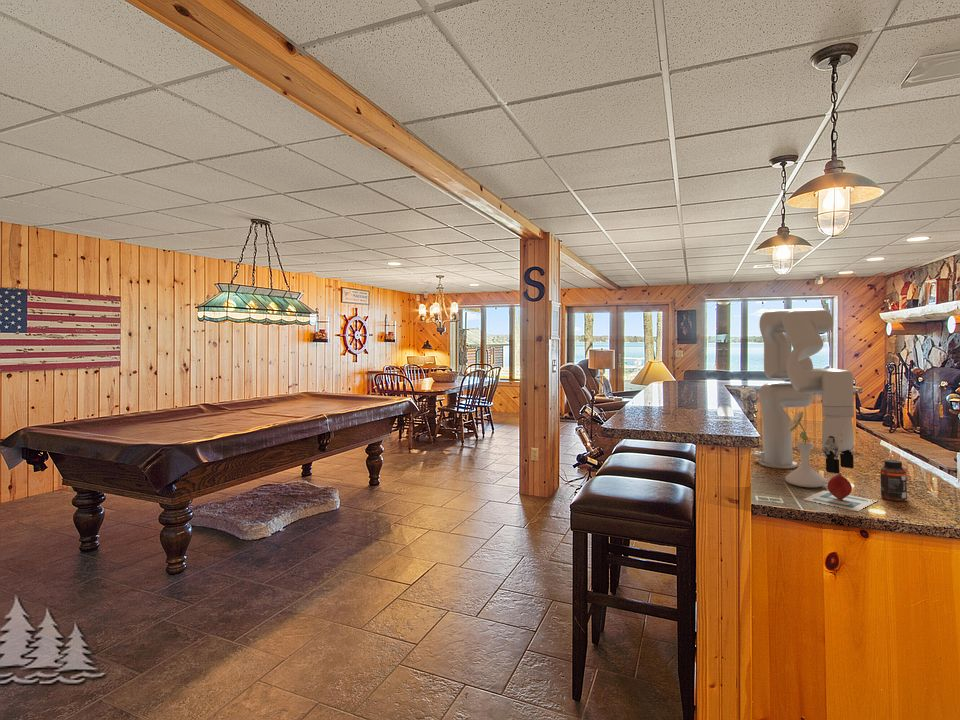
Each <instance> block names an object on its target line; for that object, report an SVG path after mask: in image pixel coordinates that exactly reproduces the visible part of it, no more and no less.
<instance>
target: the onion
mask: <svg viewBox="0 0 960 720" xmlns="http://www.w3.org/2000/svg"><path fill="white" fill-rule="evenodd" d="M827 491H829V492H830V493H831V494H832V495H833V496H835V497H836V498H837V499H838V500H842V499H844V498H845V497H847V496H848V495H851V493H852V491H853V487H852V484H851V482H850V481H849V480H848V479H847V478H845V477H844V476H843V475H842V473H841V472H839V473H837V474H836V475H834V476H833V477H831V478H830V480H828V482H827Z"/></svg>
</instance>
